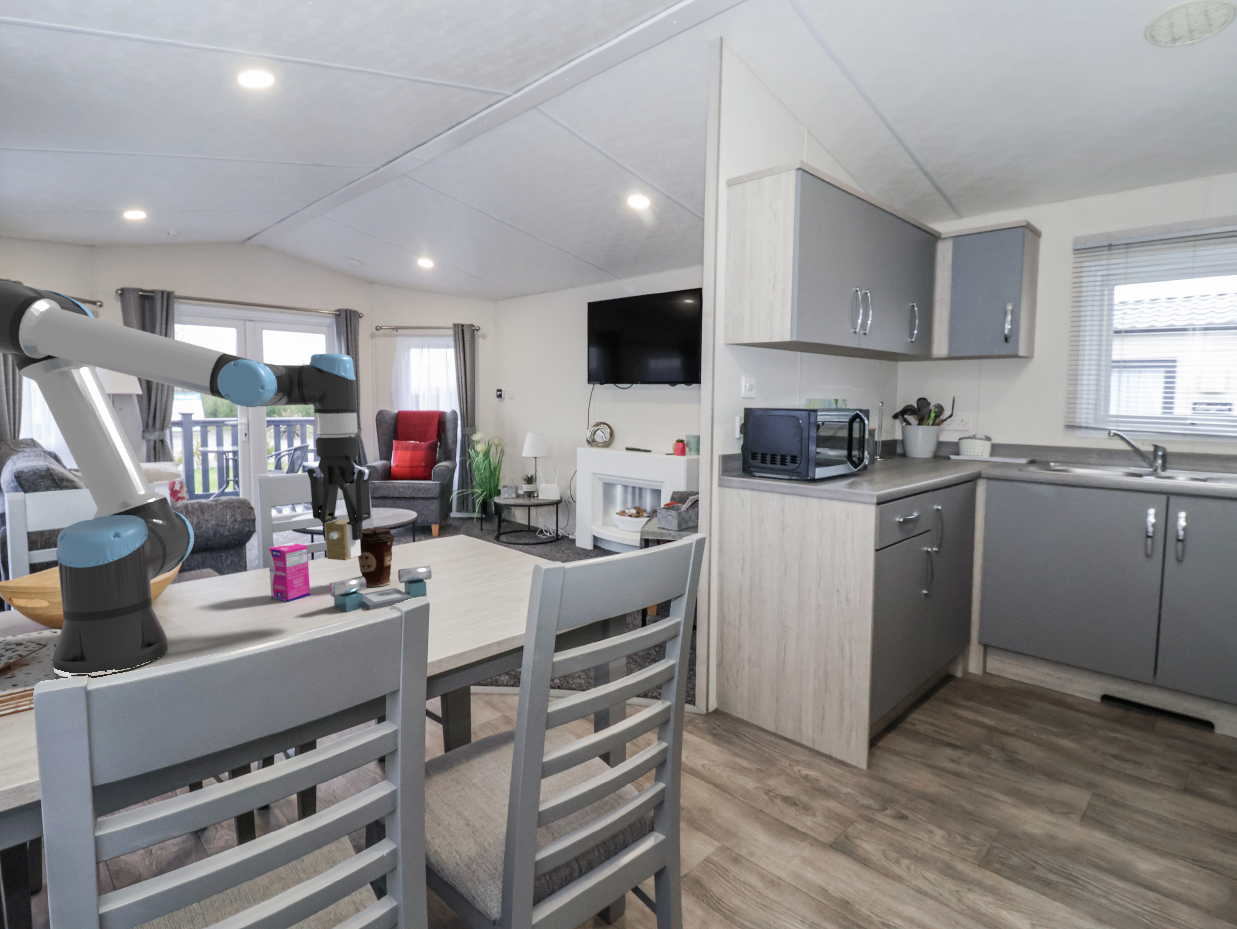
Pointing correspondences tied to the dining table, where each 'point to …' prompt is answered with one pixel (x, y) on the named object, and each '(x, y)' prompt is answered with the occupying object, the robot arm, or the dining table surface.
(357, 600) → the shaft
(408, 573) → the shaft
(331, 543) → the block
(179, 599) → the dining table surface
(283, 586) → the supplement box
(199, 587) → the dining table surface
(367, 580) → the coffee cup
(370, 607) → the cradle
